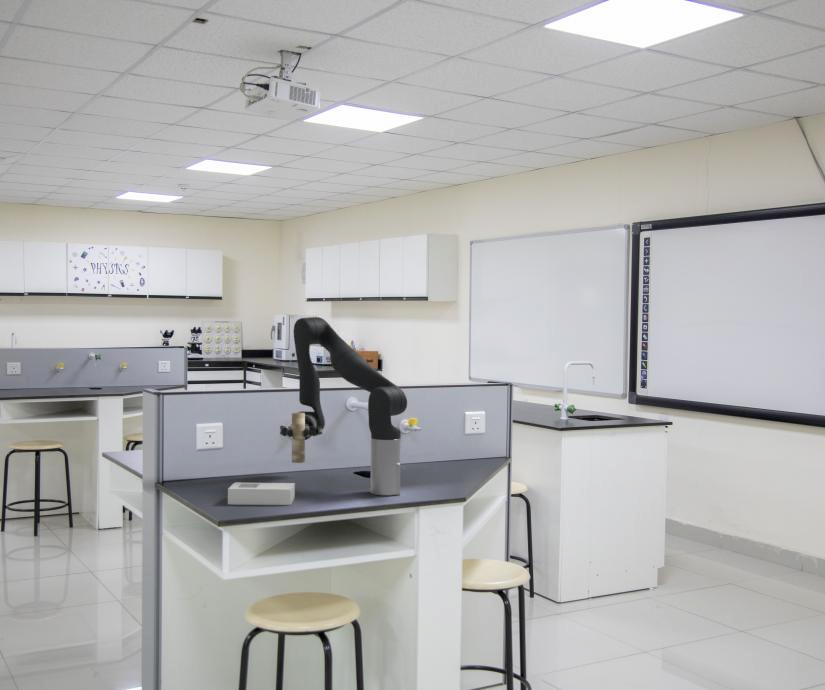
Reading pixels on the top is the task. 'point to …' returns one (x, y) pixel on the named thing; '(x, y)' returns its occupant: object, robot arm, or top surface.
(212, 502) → the top surface
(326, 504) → the top surface
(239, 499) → the hole block
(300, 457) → the birch peg
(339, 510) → the top surface
